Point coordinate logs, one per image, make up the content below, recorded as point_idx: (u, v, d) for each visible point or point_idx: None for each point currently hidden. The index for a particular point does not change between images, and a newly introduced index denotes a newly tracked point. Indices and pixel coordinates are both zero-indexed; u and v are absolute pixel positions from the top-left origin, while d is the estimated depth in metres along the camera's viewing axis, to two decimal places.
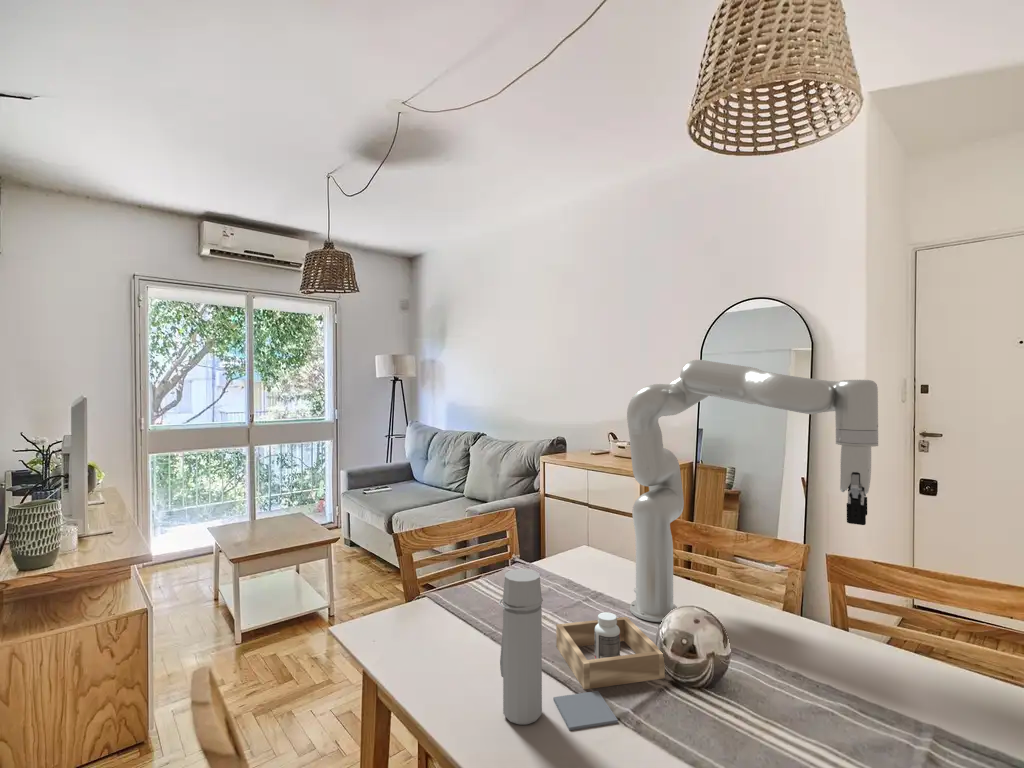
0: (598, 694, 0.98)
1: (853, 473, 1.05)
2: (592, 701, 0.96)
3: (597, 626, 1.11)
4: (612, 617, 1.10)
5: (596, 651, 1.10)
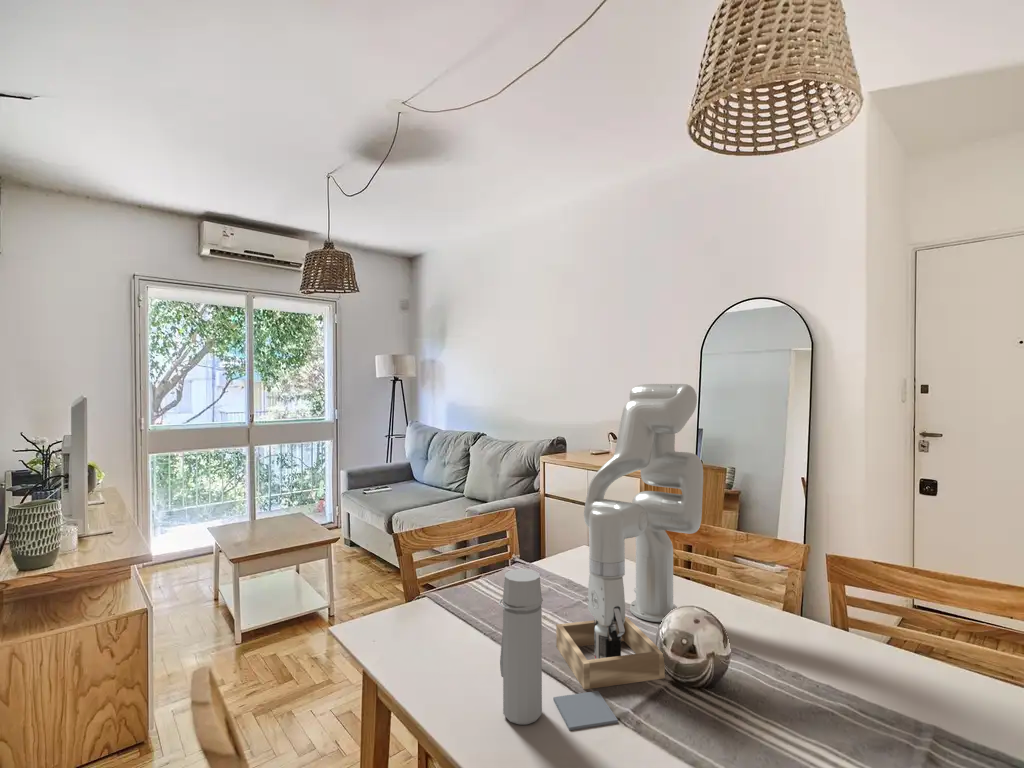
0: (598, 694, 0.98)
1: (614, 610, 1.06)
2: (592, 701, 0.96)
3: (597, 626, 1.11)
4: None
5: (596, 651, 1.10)
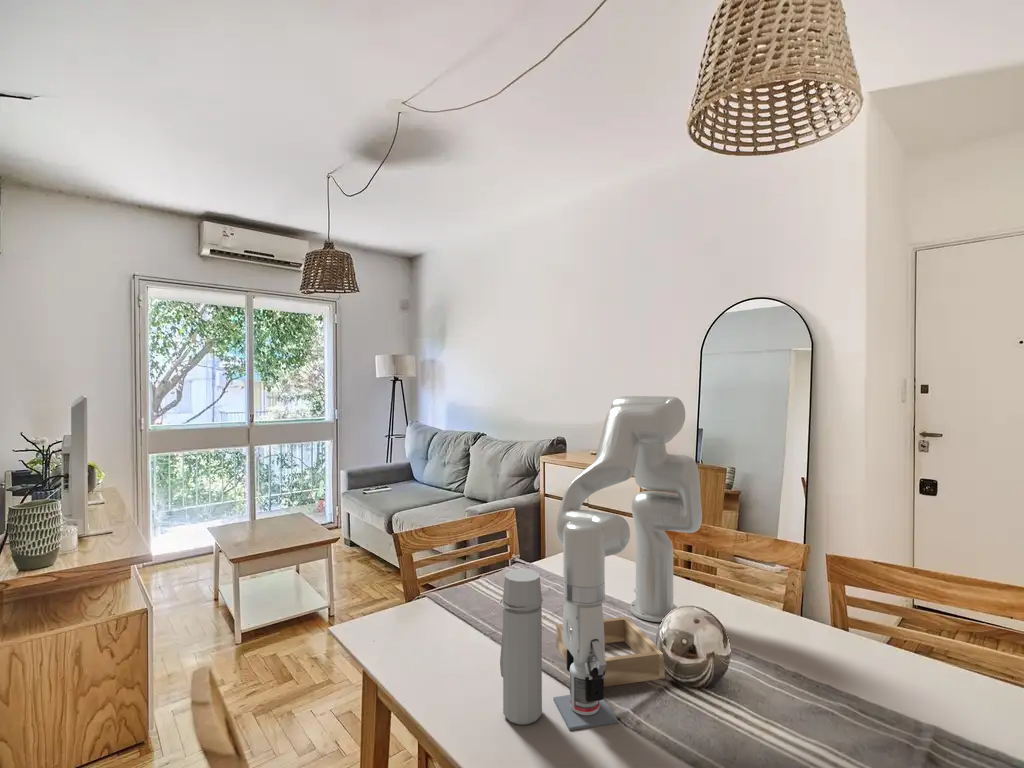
0: None
1: (592, 640, 0.89)
2: None
3: (573, 666, 0.94)
4: None
5: (571, 695, 0.93)
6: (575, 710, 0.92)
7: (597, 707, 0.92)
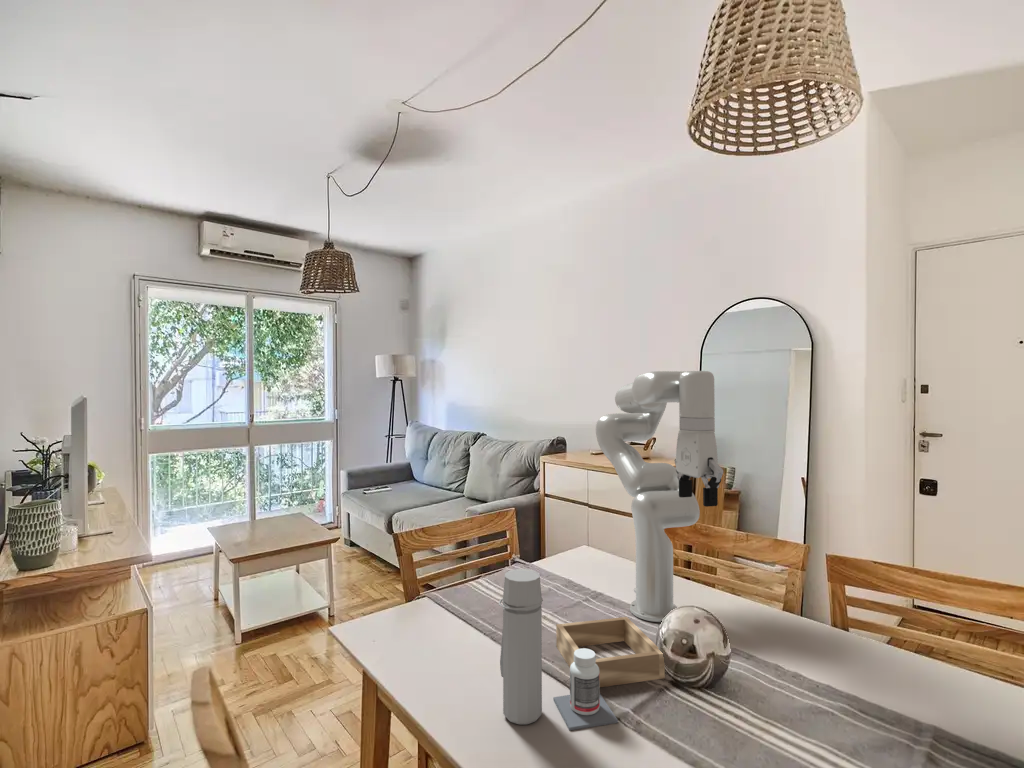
0: None
1: (708, 458, 1.11)
2: None
3: (573, 665, 0.94)
4: (590, 655, 0.93)
5: (571, 695, 0.93)
6: (575, 710, 0.92)
7: (597, 707, 0.92)
